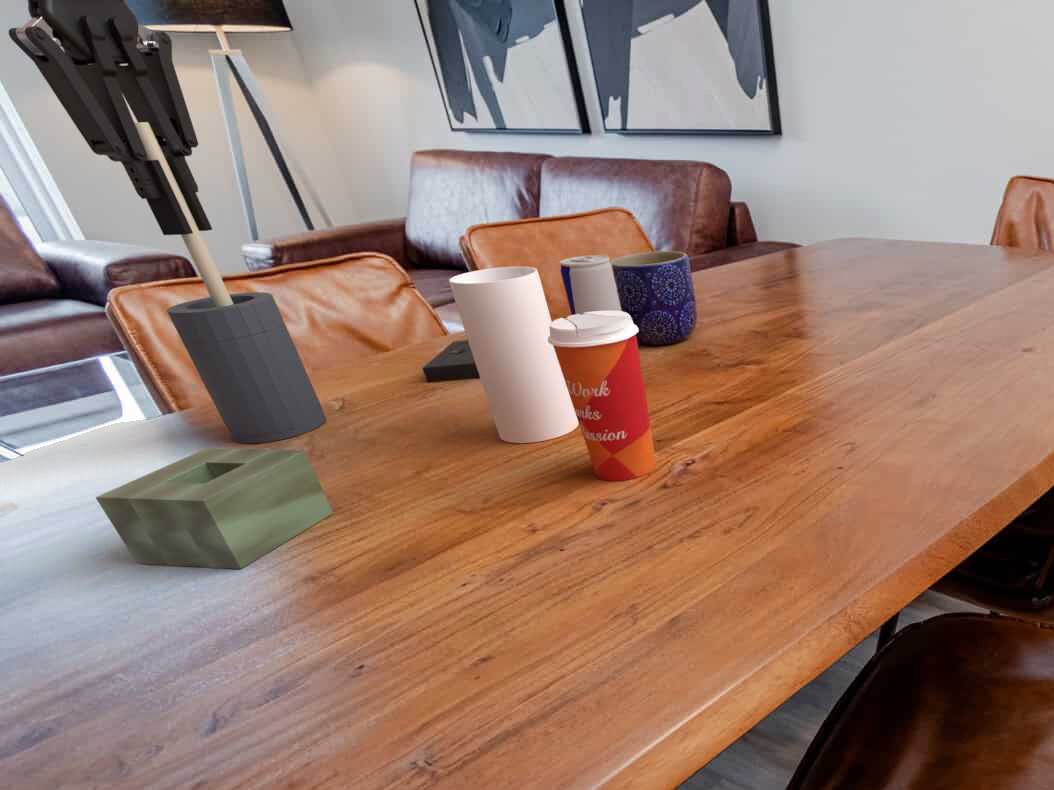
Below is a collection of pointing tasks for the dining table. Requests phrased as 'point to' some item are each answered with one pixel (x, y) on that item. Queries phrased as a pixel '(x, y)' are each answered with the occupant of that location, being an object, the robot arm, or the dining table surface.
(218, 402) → the dark gray cylindrical container
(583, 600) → the dining table surface
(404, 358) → the dining table surface
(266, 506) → the holder
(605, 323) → the paper cup
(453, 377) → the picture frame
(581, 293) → the beverage can
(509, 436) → the cup
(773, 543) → the dining table surface
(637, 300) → the planter
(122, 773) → the dining table surface
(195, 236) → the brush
